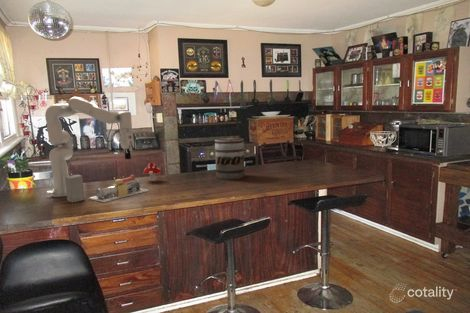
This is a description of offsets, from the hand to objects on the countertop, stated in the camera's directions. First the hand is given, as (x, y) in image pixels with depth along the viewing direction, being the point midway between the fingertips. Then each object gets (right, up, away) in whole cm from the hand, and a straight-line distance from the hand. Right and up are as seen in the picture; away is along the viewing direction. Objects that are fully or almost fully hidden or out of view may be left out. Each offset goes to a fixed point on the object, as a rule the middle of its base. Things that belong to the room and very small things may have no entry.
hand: (128, 158), depth 235 cm
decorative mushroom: (+7, -18, +41) cm, 45 cm away
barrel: (+66, -15, +50) cm, 84 cm away
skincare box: (-29, -26, -12) cm, 41 cm away
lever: (-3, -15, +5) cm, 16 cm away
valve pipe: (-5, -23, 0) cm, 24 cm away
